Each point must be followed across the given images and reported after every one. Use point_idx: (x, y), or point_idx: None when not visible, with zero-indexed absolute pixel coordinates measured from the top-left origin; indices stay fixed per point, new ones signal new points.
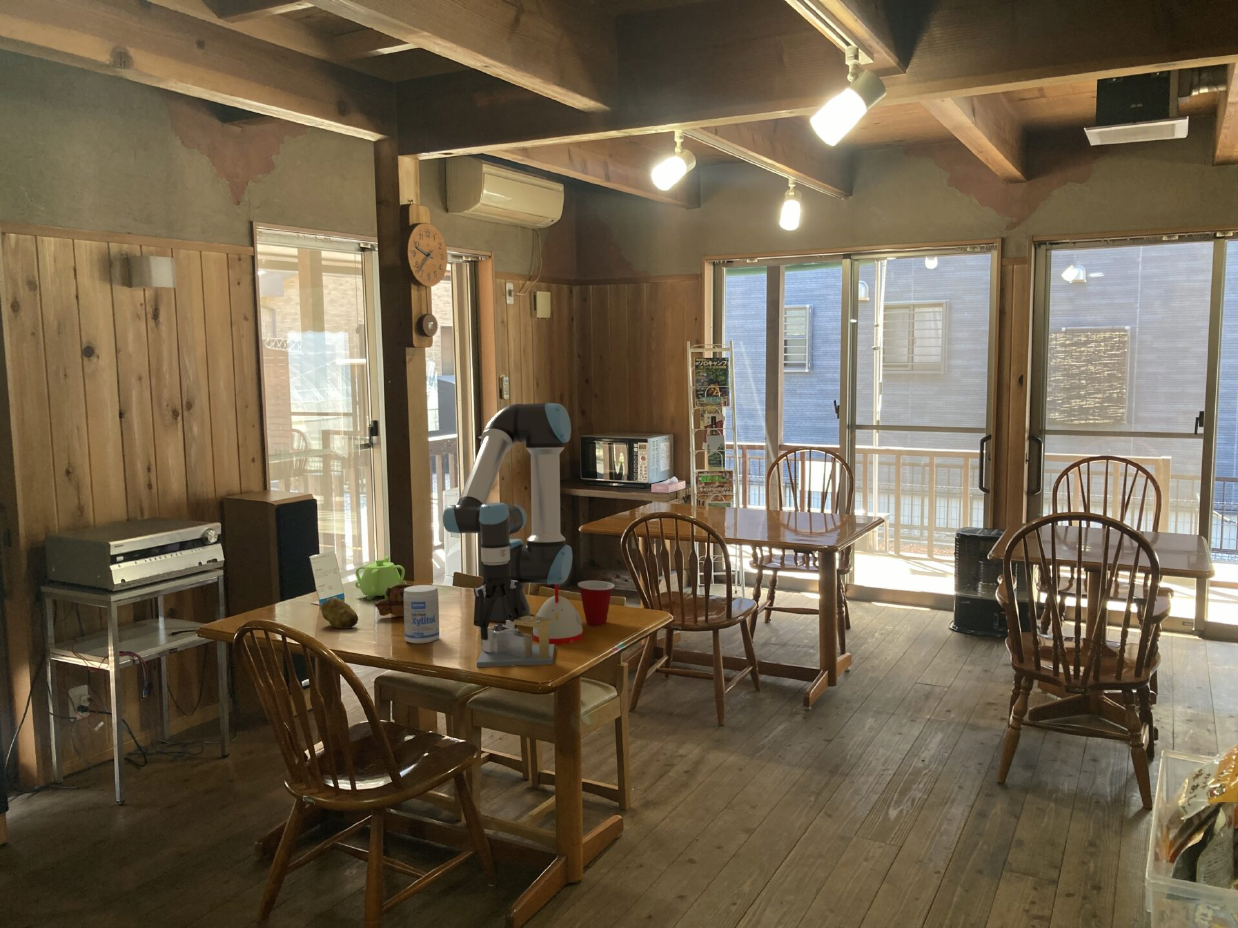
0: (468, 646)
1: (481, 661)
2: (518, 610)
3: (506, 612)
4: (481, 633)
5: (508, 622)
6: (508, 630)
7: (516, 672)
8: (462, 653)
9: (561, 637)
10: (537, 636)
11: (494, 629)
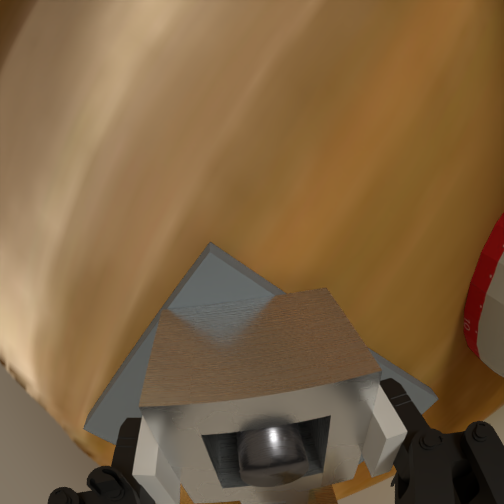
0: (186, 87)
1: (102, 432)
2: (455, 502)
3: (412, 497)
4: (117, 453)
5: (377, 447)
6: (284, 492)
7: (182, 492)
8: (85, 209)
9: (489, 367)
10: (484, 298)
11: (238, 448)
